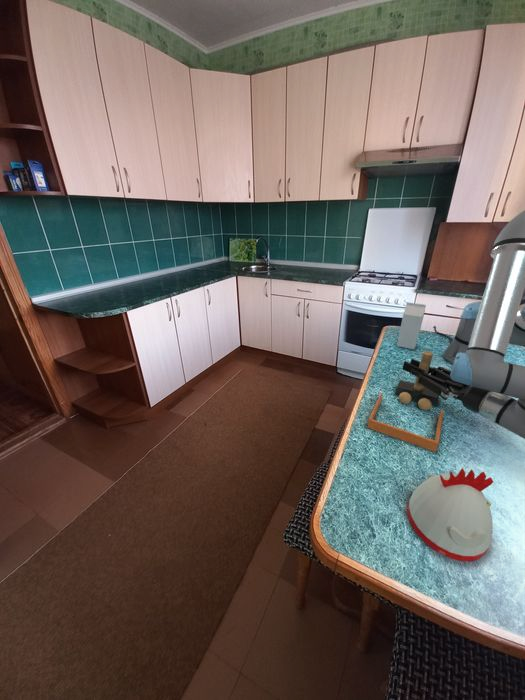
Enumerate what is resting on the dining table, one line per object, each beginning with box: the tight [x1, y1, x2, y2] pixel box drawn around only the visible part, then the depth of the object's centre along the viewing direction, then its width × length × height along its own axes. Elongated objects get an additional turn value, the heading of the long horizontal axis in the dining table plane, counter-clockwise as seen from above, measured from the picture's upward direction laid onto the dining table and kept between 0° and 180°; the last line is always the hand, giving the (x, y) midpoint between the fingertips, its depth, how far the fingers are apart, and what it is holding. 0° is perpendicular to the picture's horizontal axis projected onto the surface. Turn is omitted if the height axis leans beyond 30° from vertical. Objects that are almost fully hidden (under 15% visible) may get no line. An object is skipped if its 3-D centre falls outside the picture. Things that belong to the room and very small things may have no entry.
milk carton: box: [396, 301, 427, 350], centre depth 123 cm, size 7×7×19 cm
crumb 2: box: [417, 398, 432, 411], centre depth 88 cm, size 4×4×4 cm
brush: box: [395, 350, 440, 407], centre depth 91 cm, size 5×12×16 cm, turn 57°
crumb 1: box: [398, 392, 412, 405], centre depth 91 cm, size 4×4×4 cm
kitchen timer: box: [406, 467, 494, 562], centre depth 54 cm, size 14×14×15 cm
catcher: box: [366, 392, 444, 453], centre depth 83 cm, size 15×17×3 cm
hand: (407, 363), depth 94 cm, fingers closed on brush, 3 cm apart
